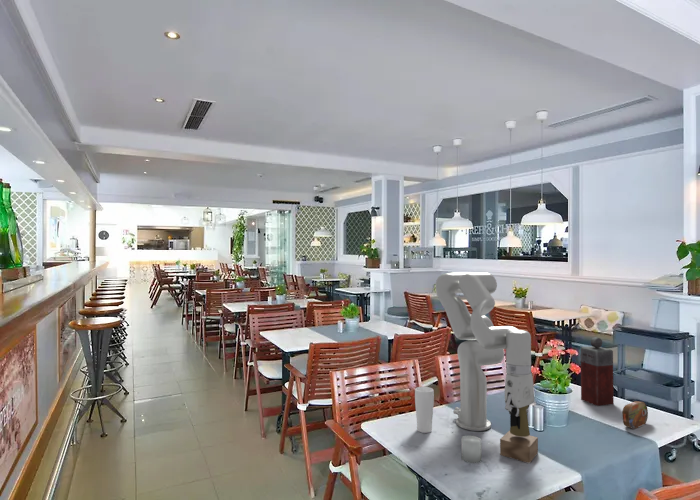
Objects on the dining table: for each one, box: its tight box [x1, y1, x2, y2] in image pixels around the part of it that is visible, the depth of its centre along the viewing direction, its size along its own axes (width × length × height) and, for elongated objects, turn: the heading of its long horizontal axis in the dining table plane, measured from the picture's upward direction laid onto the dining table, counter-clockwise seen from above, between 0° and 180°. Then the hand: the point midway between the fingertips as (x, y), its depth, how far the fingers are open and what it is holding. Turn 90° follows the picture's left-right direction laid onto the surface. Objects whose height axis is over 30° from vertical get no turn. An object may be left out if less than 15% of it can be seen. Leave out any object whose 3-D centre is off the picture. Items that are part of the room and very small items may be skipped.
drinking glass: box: [414, 386, 435, 434], centre depth 157 cm, size 7×7×15 cm
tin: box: [621, 400, 649, 430], centre depth 162 cm, size 15×3×8 cm, turn 123°
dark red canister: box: [580, 336, 615, 407], centre depth 190 cm, size 9×11×28 cm
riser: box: [499, 429, 539, 464], centre depth 138 cm, size 9×9×5 cm
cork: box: [509, 403, 531, 437], centre depth 138 cm, size 6×6×11 cm
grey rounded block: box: [460, 435, 482, 464], centre depth 135 cm, size 6×6×6 cm
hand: (518, 425), depth 138 cm, fingers closed on cork, 3 cm apart
